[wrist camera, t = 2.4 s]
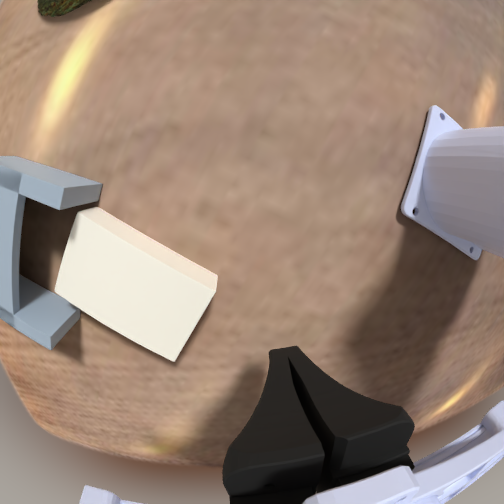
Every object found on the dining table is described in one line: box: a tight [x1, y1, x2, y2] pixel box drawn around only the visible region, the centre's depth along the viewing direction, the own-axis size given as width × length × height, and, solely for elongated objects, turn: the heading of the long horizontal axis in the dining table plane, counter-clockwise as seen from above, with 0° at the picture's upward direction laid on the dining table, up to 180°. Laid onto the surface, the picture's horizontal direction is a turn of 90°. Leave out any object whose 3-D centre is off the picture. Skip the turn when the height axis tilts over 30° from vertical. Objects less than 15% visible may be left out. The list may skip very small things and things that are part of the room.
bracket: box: [0, 156, 102, 350], centre depth 12 cm, size 8×9×4 cm
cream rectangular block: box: [55, 207, 218, 362], centre depth 14 cm, size 8×5×3 cm, turn 59°
